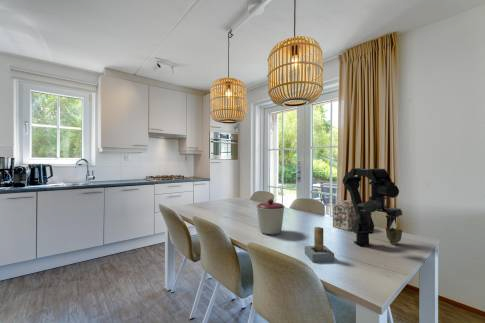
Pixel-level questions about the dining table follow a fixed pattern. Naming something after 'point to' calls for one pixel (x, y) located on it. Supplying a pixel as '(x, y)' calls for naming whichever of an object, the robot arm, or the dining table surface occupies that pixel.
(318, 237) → the walnut dowel
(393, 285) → the dining table surface
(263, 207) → the canister
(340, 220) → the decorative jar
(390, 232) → the cup
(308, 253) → the socket block
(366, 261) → the dining table surface
